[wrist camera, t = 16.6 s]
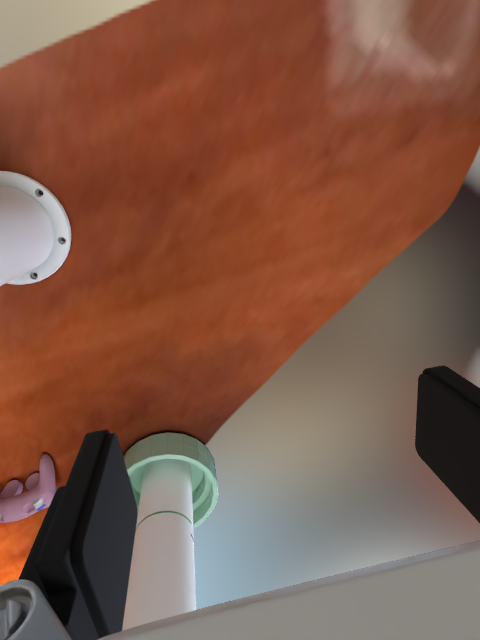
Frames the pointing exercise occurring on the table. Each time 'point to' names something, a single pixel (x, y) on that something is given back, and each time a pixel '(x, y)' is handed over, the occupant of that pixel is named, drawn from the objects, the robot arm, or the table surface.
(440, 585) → the robot arm
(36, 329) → the table surface
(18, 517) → the video game controller
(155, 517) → the cylindrical container
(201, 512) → the bowl
